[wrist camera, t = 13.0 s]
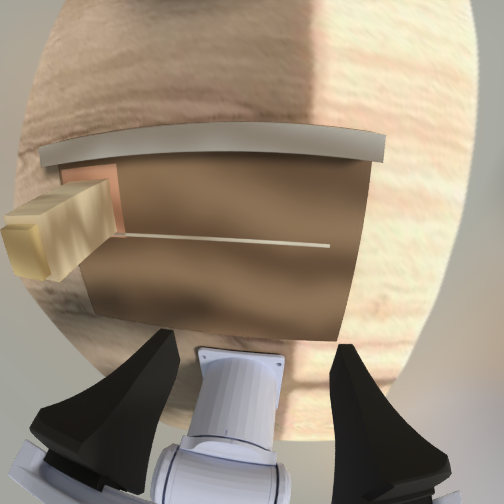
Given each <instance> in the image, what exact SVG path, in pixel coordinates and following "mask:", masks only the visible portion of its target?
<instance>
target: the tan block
mask: <svg viewBox="0 0 504 504" xmlns="http://www.w3.org/2000/svg"><path fill="white" fill-rule="evenodd" d="M3 217H4V221H5V225H6V226H5V227H4V228H2V229H1V234H2V237H3V241H4V244H5V247H6V251H7V254H8V257H9V259H10V263H11V265H12V268H13V271H14V274H15V275H16V276H21V277H25V278H30V279H35V280H39V281H44V280H50V281H55V282H61V281H62V280H63V279H64V278H65V277H66V276H67V275H68V274H69V273H70V272H71V271H72V270H73V269H74V268H75V267H76V266H78V265H79V264H80V263H81V262H82V261H83V260H84V259H85V258H86V257H87V256H89V255H90V254H91V253H92V252H93V251H94V250H95V249H97V248H98V247H99V246H100V245H101V244H102V243H104V242H105V241H106V240H107V239H108V238H109V237H111V236H112V235H113V234H114V233H115V232H117V229H116V223H115V217H114V211H113V205H112V198H111V191H110V183H109V178H108V179H95V180H83V181H72V182H68V183H66V184H63V185H61V186H59V187H57V188H55V189H53V190H51V191H49V192H47V193H45V194H43V195H41V196H39V197H37V198H35V199H33V200H31V201H29V202H28V203H26V204H24V205H22V206H20V207H18V208H17V209H15V210H13V211H11V212H10V213H8V214H6V215H4V216H3Z"/></svg>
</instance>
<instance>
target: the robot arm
mask: <svg viewBox="0 0 504 504" xmlns="http://www.w3.org/2000/svg"><path fill="white" fill-rule="evenodd" d="M203 355H204V356H203ZM198 356H199V361H200V367H201V372H202V377H203V383H202V386H201V389H200V393H199V396H198V400H197V403H196V406H195V410H194V413H193V417H192V420H191V424H190V427H189V430H188V434H187V436H182V440H181V444H180V445H178V444H171V445H170V446H168V447H167V448H165V449H163V451H162V452H161V454H160V456H159V459H158V461H157V464H156V467H155V470H154V473H153V477H152V483H151V490H150V496H151V500H152V502H150V501H147V500H144V499H141V498H138V497H135V496H132V495H129V494H127V493H124V492H122V491H125V492H127V491H128V492H130V493H133V494H136V495H140V494H142V493H144V489H145V481H146V474H147V468H148V462H149V456H150V452H151V448H152V443H153V439H154V435H155V432H156V428H157V424H158V421H159V418H160V416H161V413H162V411H163V408H164V406H165V404H166V401H167V399H168V396H169V394H170V391H171V389H172V386H173V384H174V381H175V379H176V375H177V371H178V368H179V364H180V357H179V353H178V349H177V344H176V340H175V336H174V331H173V330H167V329H160V330H159V331H158V332H157V333H155V334H154V335H153V336H152V337H151V338H150V339H149V340H148V341H147V342H146V343H145V344H144V345H143V346H142V347H141V348H140V349H139V350H138V351H137V352H136V353H134V354H133V355H132V356H131V357H130V358H129V359H128V360H127V361H126V362H124V363H123V364H122V365H121V366H120V367H118V368H117V369H116V370H115V371H113V372H112V373H111V374H110V375H108V376H107V377H105V378H104V379H103V380H101V381H100V382H98V383H97V384H95V385H93V386H92V387H90V388H88V389H86V390H85V391H83V392H81V393H79V394H77V395H75V396H73V397H71V398H69V399H66V400H64V401H62V402H59V403H56V404H53V405H51V406H47V407H44V408H41V409H40V411H39V412H38V414H37V416H36V417H35V419H34V421H33V422H32V424H31V426H30V431H31V433H32V434H33V435H34V436H35V437H36V438H37V439H38V440H40V441H41V442H42V443H43V444H44V445H45V446H46V447H47V448H49V450H48V452H47V453H46V452H45V451H44V450H42V449H41V448H39V447H38V446H36V445H35V444H33V443H31V442H30V441H28V440H25V441H24V443H23V445H22V447H21V449H20V451H19V452H18V454H17V457H16V458H15V461H14V463H13V465H12V466H11V468H10V471H9V473H8V476H10V477H11V478H12V479H13V480H14V481H15V482H17V483H18V484H19V485H20V486H22V487H23V488H24V489H25V490H27V491H28V492H29V493H31V494H32V495H33V496H35V497H36V498H37V499H38V500H40V501H41V502H42V503H44V504H289V501H290V495H291V477H290V473H289V471H288V470H287V469H286V468H285V466H284V464H282V463H276V456H277V453H276V452H272V445H273V434H274V422H275V409H277V408H278V402H279V395H280V389H281V383H282V376H283V369H284V362H285V357H284V356H282V355H274V354H260V353H249V352H238V351H229V350H220V349H212V348H204V347H201V348H199V350H198ZM329 375H330V400H331V408H332V415H333V424H334V432H335V472H334V485H333V495H332V503H331V504H462V500H461V493H460V491H459V490H458V491H455V492H453V493H450V494H447V495H445V496H442V497H439V498H436V499H434V500H432V495H433V494H434V493H435V490H434V487H435V486H436V485H438V484H440V483H441V482H443V481H444V480H446V479H447V478H449V476H450V475H451V474H452V473H451V467H450V463H449V459H448V456H447V455H446V454H445V453H443V452H442V451H440V450H439V449H437V448H436V447H434V446H433V445H432V444H430V443H429V442H428V441H427V440H425V439H424V438H423V437H422V436H421V435H419V434H418V433H417V432H416V431H415V430H414V429H413V428H412V427H411V426H410V425H409V424H407V422H406V421H405V420H404V419H403V418H402V417H401V416H400V415H399V413H398V412H397V411H396V410H395V409H394V408H393V406H392V405H391V404H390V403H389V401H388V400H387V399H386V397H385V396H384V394H383V393H382V392H381V390H380V389H379V387H378V386H377V384H376V383H375V381H374V380H373V378H372V377H371V375H370V373H369V372H368V370H367V369H366V367H365V365H364V363H363V362H362V360H361V358H360V356H359V355H358V353H357V351H356V349H355V347H354V346H353V345H352V344H339V345H338V348H337V351H336V355H335V358H334V361H333V364H332V367H331V370H330V373H329ZM120 490H122V491H120Z"/></svg>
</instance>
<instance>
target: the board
mask: <svg viewBox="0 0 504 504" xmlns="http://www.w3.org/2000/svg"><path fill="white" fill-rule="evenodd" d="M385 138H386V135H383V134H379V133H374V132H370V131H364V130H357V129H350V128H342V127H333V126H324V125H313V124H299V123H282V122H249V121H231V122H198V123H181V124H168V125H157V126H147V127H139V128H131V129H123V130H116V131H110V132H104V133H98V134H92V135H87V136H82V137H77V138H72V139H67V140H63V141H60V142H56V143H52V144H49V145H45V146H42V147H39V155H40V164H41V167H46V166H51V165H57V164H59V172H60V179H61V185H63V184H66V183H68V182H72V181H83V180H95V179H108V178H109V183H110V191H111V198H112V205H113V211H114V217H115V223H116V229H117V232H115V233H114V234H113V235H112V236H111V237H109V238H108V239H107V240H106V241H105V242H104V243H102V244H101V245H100V246H99V247H98V248H97V249H95V250H94V251H93V252H92V253H91V254H90V255H89V256H87V257H86V258H85V259H84V260H83V261H82V262H81V263H80V264H79V266H80V269H81V273H82V276H83V279H84V282H85V285H86V289H87V292H88V295H89V297H90V300H91V303H92V306H93V309H94V312H95V314H99V315H103V316H108V317H113V318H118V319H123V320H129V321H134V322H140V323H146V324H152V325H158V326H164V327H171V328H178V329H185V330H192V331H200V332H208V333H217V334H226V335H236V336H246V337H258V338H272V339H287V340H307V341H337V338H338V335H339V331H340V328H341V324H342V320H343V316H344V312H345V309H346V305H347V301H348V296H349V292H350V288H351V284H352V279H353V275H354V270H355V265H356V260H357V255H358V250H359V245H360V240H361V234H362V229H363V223H364V217H365V210H366V204H367V197H368V190H369V182H370V174H371V165H372V161H374V162H381V163H383V158H384V149H385Z"/></svg>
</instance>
